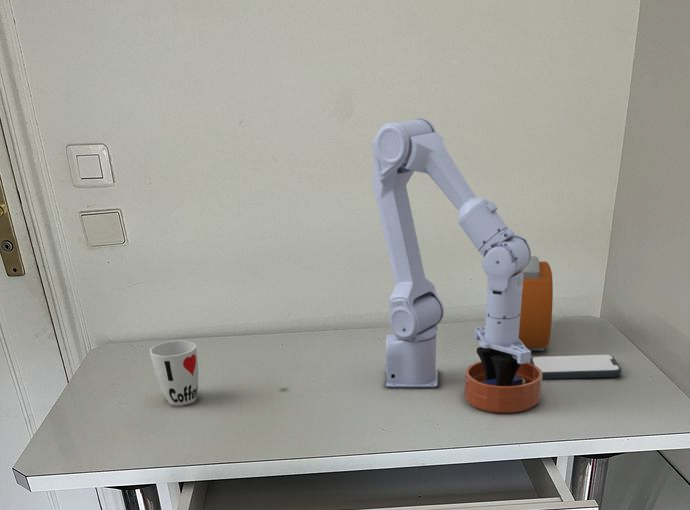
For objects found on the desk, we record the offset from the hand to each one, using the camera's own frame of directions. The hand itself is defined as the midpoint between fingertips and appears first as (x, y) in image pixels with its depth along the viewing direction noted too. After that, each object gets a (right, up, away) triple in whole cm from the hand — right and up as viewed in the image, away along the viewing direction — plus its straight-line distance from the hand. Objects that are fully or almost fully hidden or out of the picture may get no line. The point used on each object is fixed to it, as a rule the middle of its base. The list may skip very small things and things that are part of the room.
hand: (498, 389), depth 129 cm
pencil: (0, -1, +1) cm, 1 cm away
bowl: (+1, -2, +1) cm, 2 cm away
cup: (-57, -1, +6) cm, 58 cm away
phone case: (+17, +5, +11) cm, 21 cm away
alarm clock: (+11, +15, +28) cm, 34 cm away
